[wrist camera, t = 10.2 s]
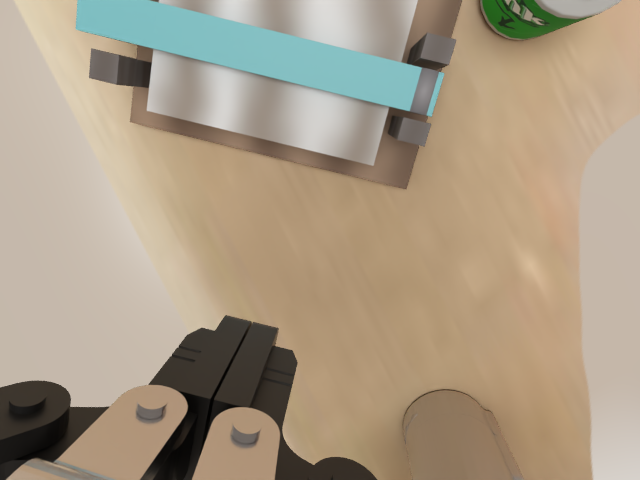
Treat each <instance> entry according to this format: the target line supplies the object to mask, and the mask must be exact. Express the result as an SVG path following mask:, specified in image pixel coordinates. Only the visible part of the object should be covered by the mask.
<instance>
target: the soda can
mask: <svg viewBox="0 0 640 480" xmlns="http://www.w3.org/2000/svg"><path fill="white" fill-rule="evenodd" d="M620 1H621V0H480V5H481V10H482V13H483V15H484V18H485V20H486V22H487V23H488V24H489V25H490V27H491V28H492V29H493V30H494V31H495V32H496V33H498V34H500V35H502V36H504V37H506V38H508V39H515V40H526V39H531V38H536V37H539V36H541V35H544V34H547V33H549V32H552V31H555V30H557V29H560V28H563V27H565V26H568V25H571V24H573V23H576V22H579V21H581V20H584V19H586V18H589V17H592V16H594V15H597V14H600V13H602V12H603V11H605V10H607V9H609V8H611V7H612V6H614V5H616V4H618V3H619V2H620Z"/></svg>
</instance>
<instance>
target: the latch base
mask: <svg viewBox="0 0 640 480" xmlns="http://www.w3.org/2000/svg"><path fill="white" fill-rule="evenodd" d="M150 1H154V2H158V3H162V4H166V5H171V6H175V7H179V8H183V9H187V10H191V11H195V12H199V13H203V14H207V15H211V16H215V17H219V18H223V19H227V20H231V21H235V22H239V23H243V24H247V25H251V26H256V27H260V28H264V29H268V30H272V31H276V32H280V33H284V34H288V35H292V36H296V37H300V38H304V39H308V40H312V41H316V42H320V43H324V44H328V45H332V46H336V47H341V48H345V49H349V50H353V51H357V52H361V53H365V54H369V55H373V56H377V57H381V58H385V59H389V60H393V61H397V62H401V63H405V64H409V65H413V66H417V67H421V68H427V69H432V70H435V71H438V72H441V70H442V67H445V66H447V65H449V63H450V59H451V56H452V53H453V49H454V46H455V43H456V39H452V38H451V36H452V33H453V29H454V26H455V23H456V19H457V16H458V12H459V9H460V6H461V2H462V0H150ZM89 78H92V79H96V80H100V81H104V82H108V83H112V84H116V85H126V86H134V88H133V98H132V108H131V118H130V122H132V123H136V124H140V125H144V126H148V127H152V128H156V129H160V130H164V131H169V132H173V133H177V134H181V135H185V136H189V137H193V138H197V139H201V140H206V141H210V142H214V143H218V144H222V145H226V146H230V147H234V148H238V149H243V150H247V151H251V152H255V153H259V154H263V155H267V156H271V157H275V158H280V159H284V160H288V161H292V162H296V163H300V164H304V165H308V166H312V167H317V168H321V169H325V170H329V171H333V172H337V173H341V174H345V175H349V176H354V177H358V178H362V179H366V180H370V181H374V182H378V183H382V184H386V185H391V186H395V187H399V188H403V189H406V188H407V185H408V182H409V178H410V175H411V171H412V168H413V165H414V161H415V158H416V155H417V151H418V148H419V145H420V146H425V143H426V140H427V136H428V133H429V130H430V126H431V124H429V123H426V121H427V117H428V116H425V115H421V114H417V113H413V112H409V111H405V110H401V109H397V108H393V107H389V106H385V105H380V104H376V103H372V102H368V101H364V100H360V99H356V98H352V97H348V96H344V95H340V94H336V93H332V92H327V91H323V90H319V89H315V88H311V87H307V86H303V85H299V84H295V83H291V82H287V81H283V80H279V79H274V78H270V77H266V76H262V75H258V74H254V73H250V72H246V71H242V70H238V69H234V68H230V67H226V66H221V65H217V64H213V63H209V62H205V61H201V60H197V59H193V58H189V57H185V56H181V55H177V54H173V53H168V52H164V51H160V50H156V49H152V48H148V47H144V46H140V45H138V48H137V58H136V59H134V58H130V57H126V56H121V55H117V54H113V53H109V52H104V51H100V50H96V49H92V48H91V59H90V73H89Z"/></svg>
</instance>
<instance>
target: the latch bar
mask: <svg viewBox="0 0 640 480" xmlns="http://www.w3.org/2000/svg"><path fill="white" fill-rule="evenodd" d="M76 30H80V31H83V32H87V33H91V34H95V35H99V36H103V37H107V38H111V39H115V40H119V41H124V42H128V43H132V44H136V45H140V46H144V47H148V48H152V49H156V50H160V51H164V52H168V53H173V54H177V55H181V56H185V57H189V58H193V59H197V60H201V61H205V62H209V63H213V64H217V65H221V66H226V67H230V68H234V69H238V70H242V71H246V72H250V73H254V74H258V75H262V76H266V77H270V78H274V79H279V80H283V81H287V82H291V83H295V84H299V85H303V86H307V87H311V88H315V89H319V90H323V91H327V92H332V93H336V94H340V95H344V96H348V97H352V98H356V99H360V100H364V101H368V102H372V103H376V104H380V105H385V106H389V107H393V108H397V109H401V110H405V111H409V112H413V113H417V114H421V115H425V116H430V117H432V113H433V110H434V107H435V103H436V100H437V97H438V93H439V90H440V87H441V83H442V80H443V77H444V73H442V72H438V71H435V70H432V69H427V68H421V67H417V66H413V65H409V64H405V63H401V62H397V61H393V60H389V59H385V58H381V57H377V56H373V55H369V54H365V53H361V52H357V51H353V50H349V49H345V48H341V47H336V46H332V45H328V44H324V43H320V42H316V41H312V40H308V39H304V38H300V37H296V36H292V35H288V34H284V33H280V32H276V31H272V30H268V29H264V28H260V27H256V26H251V25H247V24H243V23H239V22H235V21H231V20H227V19H223V18H219V17H215V16H211V15H207V14H203V13H199V12H195V11H191V10H187V9H183V8H179V7H175V6H171V5H166V4H162V3H158V2H154V1H150V0H78V2H77V18H76Z"/></svg>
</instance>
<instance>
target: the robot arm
mask: <svg viewBox="0 0 640 480" xmlns="http://www.w3.org/2000/svg"><path fill="white" fill-rule="evenodd" d="M278 330H279V328H275V327H271V326H267V325H263V324H259V323H255V322H253V323H252V322H251V321H247V320H243V319H239V318H235V317H231V316H227V315H226V316H225V317H224V318H223V320H222V321H221V323H220V324H219V326H218V327H217V329H216V330H215V331H213V330H209V329H205V328H200V329H198V330H196V331H194V332H192V333H190V334H188V335H187V336H186V337H185V339H184V340H183V341H182V342H181V344H180V345H179V348H177V349H176V350H175V351H174V353H173V354H172V356H171V357H170V358H169V359H168V360H167V362H166V363H165V364H164V365H163V367H162V368H161V369H160V371H159V372H158V373H157V374H156V376H155V377H154V378H153V380H152V381H151V382H150V383H149V385H145V386H140V387H136V388H133V389H131V390H128V391H127V392H126V393H124V394H122V395H121V396H120V397H119V398H118V399H117V400H116V401H115V402H114V403H113V404H112V405H111V406H110V407H70V401H71V398H70V394H69V392H68V391H67V390H66V389H65V388H64V387H62V386H61V385H58V384H56V383H52V382H47V381H27V382H21V383H16V384H12V385H9V386H5V387H1V388H0V480H377V479H376V478H375V476H374V475H373V474H372V473H371V472H370V471H369V470H368V469H366V468H365V467H364V466H362V465H361V464H359V463H357V462H355V461H353V460H350V459H347V458H342V457H330V458H325V459H323V460H320V461H319V462H318V463H316V464H315V465H312V464H311V463H309V462H307V461H305V460H304V459H302V458H300V457H299V456H298V455H296V454H295V453H294V452H293V451H292V450H291V449H290V448H289V446H288V445H287V444H286V442H285V440H284V437H283V433H282V426H283V421H284V417H285V413H286V409H287V405H288V400H289V396H290V392H291V388H292V384H293V379H294V375H295V371H296V367H297V360H296V358H295V355H294V353H293V351H292V350H288V349H284V348H280V347H277V346H275V344H276V340H277V335H278ZM403 430H404V437H405V444H406V447H407V453H408V459H409V465H410V471H411V476H412V480H524V478H523V476H522V474H521V472H520V470H519V468H518V466H517V464H516V462H515V459H514V457H513V455H512V453H511V451H510V449H509V447H508V445H507V443H506V441H505V438H504V436H503V434H502V432H501V430H500V428H499V426H498V424H497V422H496V420H495V417H494V415H493V413H492V412H490V411H486V410H484V409H483V408H482V407H481V406H480V405H479V404H478V403H477V402H476V401H475V400H474V399H472V398H471V397H470V396H468V395H466V394H463V393H461V392H457V391H450V390H442V391H435V392H431V393H428V394H426V395H424V396H422V397H420V398H419V399H417V400H416V401H415V402H414V403H413V404H412V405H411V406H410V407H409V409H408V410H407V412H406V414H405V417H404V422H403Z"/></svg>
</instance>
